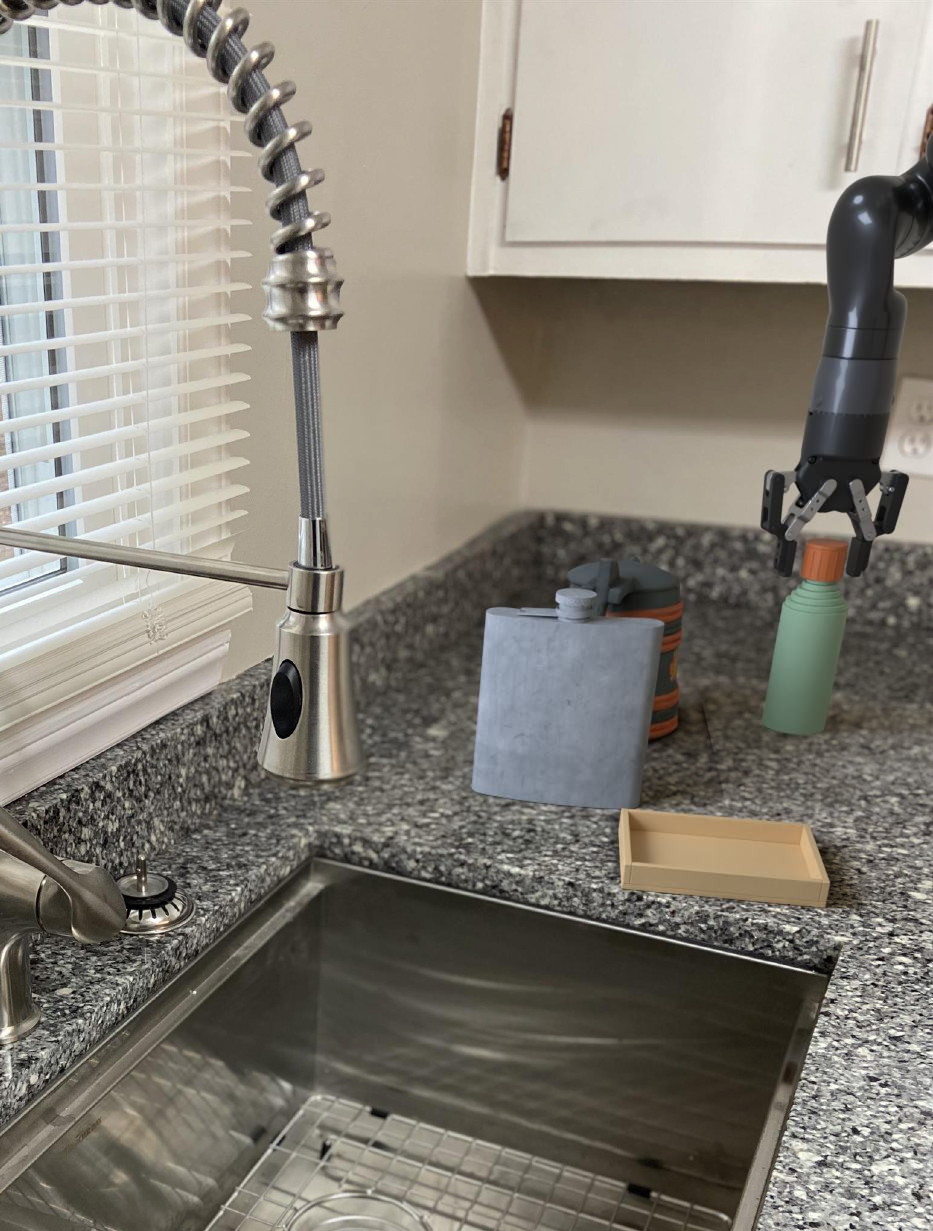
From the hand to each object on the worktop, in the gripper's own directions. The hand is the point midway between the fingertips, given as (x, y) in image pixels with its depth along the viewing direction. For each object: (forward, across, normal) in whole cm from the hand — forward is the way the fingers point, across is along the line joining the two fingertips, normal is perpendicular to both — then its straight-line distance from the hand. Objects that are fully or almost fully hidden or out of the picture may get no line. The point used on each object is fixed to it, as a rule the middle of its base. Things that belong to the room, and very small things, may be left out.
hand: (818, 575), depth 145 cm
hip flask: (+17, +30, +18) cm, 39 cm away
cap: (0, 0, +1) cm, 1 cm away
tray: (+17, +19, +34) cm, 43 cm away
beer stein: (+17, +20, -1) cm, 26 cm away
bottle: (+17, 0, +1) cm, 17 cm away
